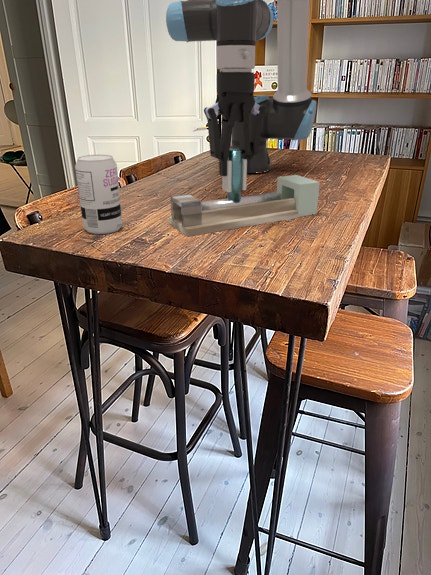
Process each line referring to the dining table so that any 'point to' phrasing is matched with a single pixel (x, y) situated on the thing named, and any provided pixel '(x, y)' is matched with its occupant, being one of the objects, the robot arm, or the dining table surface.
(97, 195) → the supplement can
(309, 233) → the dining table surface
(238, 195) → the sliding bolt
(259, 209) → the rail
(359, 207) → the dining table surface
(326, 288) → the dining table surface
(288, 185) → the socket
